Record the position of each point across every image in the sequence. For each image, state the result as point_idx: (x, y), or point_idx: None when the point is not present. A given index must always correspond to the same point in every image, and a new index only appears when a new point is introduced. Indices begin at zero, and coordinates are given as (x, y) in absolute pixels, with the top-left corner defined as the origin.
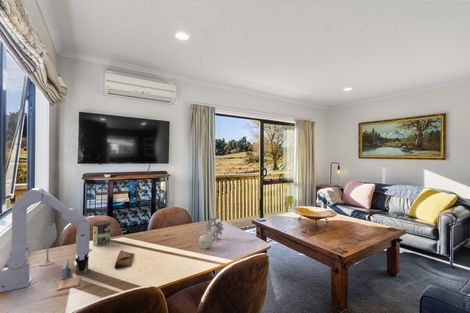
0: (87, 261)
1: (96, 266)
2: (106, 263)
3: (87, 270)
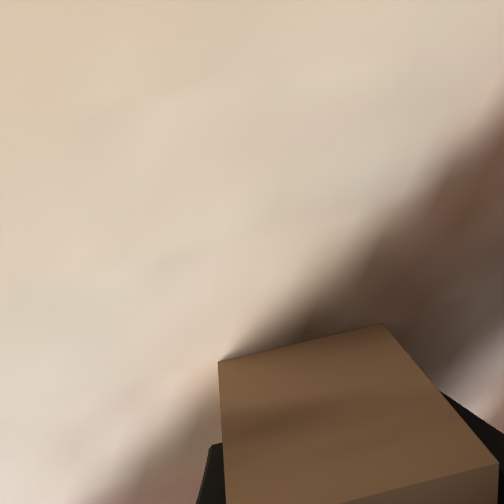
0: (421, 494)
1: (190, 244)
2: (79, 56)
3: (396, 346)
